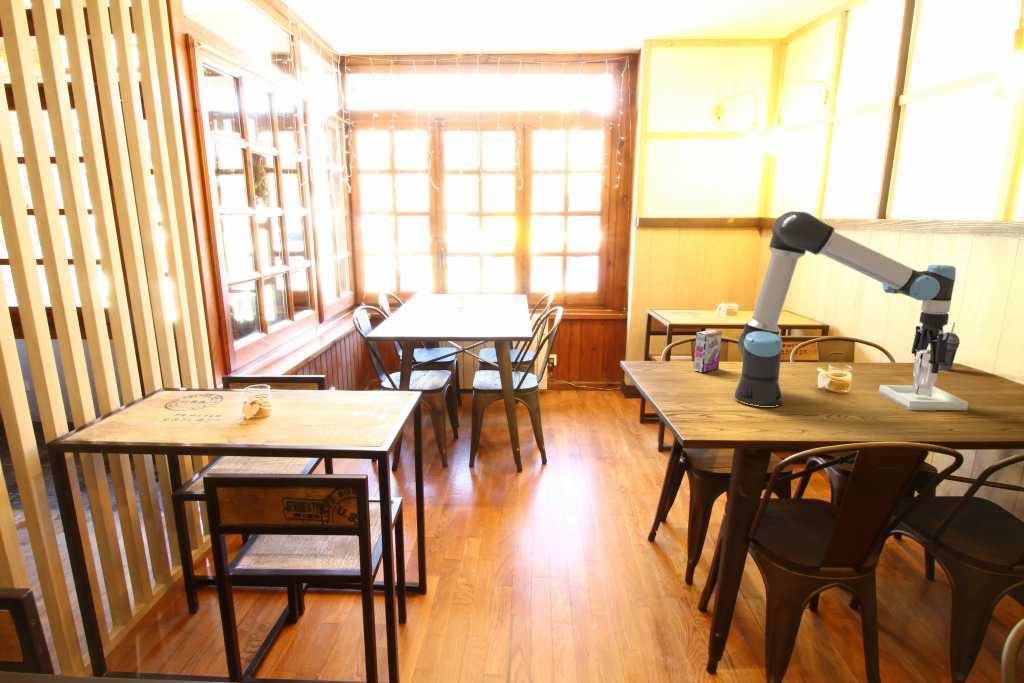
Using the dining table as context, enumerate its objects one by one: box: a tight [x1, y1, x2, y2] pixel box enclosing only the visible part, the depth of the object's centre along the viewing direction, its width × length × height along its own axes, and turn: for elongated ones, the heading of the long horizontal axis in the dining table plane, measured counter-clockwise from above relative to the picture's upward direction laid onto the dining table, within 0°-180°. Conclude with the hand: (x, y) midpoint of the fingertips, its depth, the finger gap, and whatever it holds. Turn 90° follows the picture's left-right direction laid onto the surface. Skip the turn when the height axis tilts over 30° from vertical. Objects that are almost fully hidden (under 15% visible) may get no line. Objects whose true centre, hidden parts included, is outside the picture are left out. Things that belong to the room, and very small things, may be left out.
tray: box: [878, 384, 969, 412], centre depth 192 cm, size 18×18×3 cm
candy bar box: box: [693, 329, 723, 373], centre depth 231 cm, size 11×5×16 cm, turn 126°
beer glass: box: [911, 349, 940, 397], centre depth 190 cm, size 7×7×15 cm
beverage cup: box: [939, 322, 961, 371], centre depth 229 cm, size 7×7×20 cm
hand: (924, 378), depth 191 cm, fingers closed on beer glass, 7 cm apart
